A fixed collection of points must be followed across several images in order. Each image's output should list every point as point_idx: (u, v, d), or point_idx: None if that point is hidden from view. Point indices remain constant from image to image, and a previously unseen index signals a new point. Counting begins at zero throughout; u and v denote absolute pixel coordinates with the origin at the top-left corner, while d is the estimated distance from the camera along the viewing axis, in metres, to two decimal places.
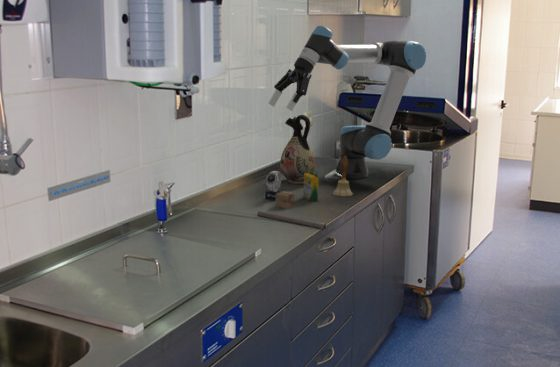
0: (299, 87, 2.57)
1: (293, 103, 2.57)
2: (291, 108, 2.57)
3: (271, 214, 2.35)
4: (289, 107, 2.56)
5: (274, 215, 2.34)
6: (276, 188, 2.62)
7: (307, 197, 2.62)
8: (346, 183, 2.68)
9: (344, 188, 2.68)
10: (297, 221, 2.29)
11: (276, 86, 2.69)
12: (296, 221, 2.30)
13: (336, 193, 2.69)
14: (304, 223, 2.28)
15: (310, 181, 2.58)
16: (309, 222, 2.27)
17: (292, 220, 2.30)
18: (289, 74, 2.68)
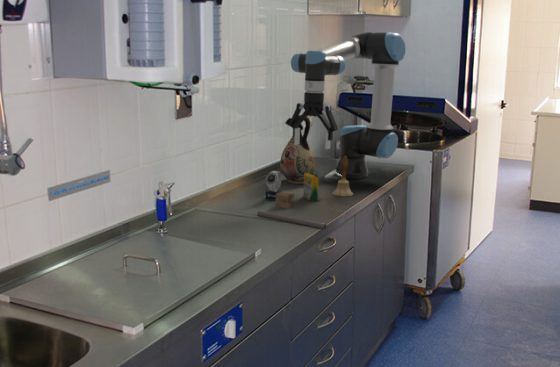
0: (327, 124, 2.51)
1: (329, 141, 2.53)
2: (329, 146, 2.54)
3: (271, 214, 2.35)
4: (327, 147, 2.53)
5: (274, 215, 2.34)
6: (276, 188, 2.62)
7: (307, 197, 2.62)
8: (346, 183, 2.68)
9: (344, 188, 2.68)
10: (297, 221, 2.29)
11: (291, 124, 2.59)
12: (296, 221, 2.30)
13: (336, 193, 2.69)
14: (304, 223, 2.28)
15: (310, 181, 2.58)
16: (309, 222, 2.27)
17: (292, 220, 2.30)
18: (300, 108, 2.56)
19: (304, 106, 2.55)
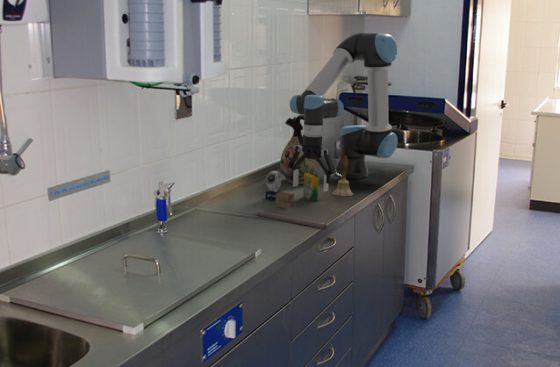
0: (325, 167, 2.55)
1: (327, 184, 2.57)
2: (327, 189, 2.58)
3: (271, 214, 2.35)
4: (326, 190, 2.57)
5: (274, 215, 2.34)
6: (276, 188, 2.62)
7: (307, 197, 2.62)
8: (346, 183, 2.68)
9: (344, 188, 2.68)
10: (297, 221, 2.29)
11: (290, 166, 2.63)
12: (296, 221, 2.30)
13: (336, 193, 2.69)
14: (304, 223, 2.28)
15: (310, 181, 2.58)
16: (309, 222, 2.27)
17: (292, 220, 2.30)
18: (298, 151, 2.60)
19: (303, 149, 2.58)
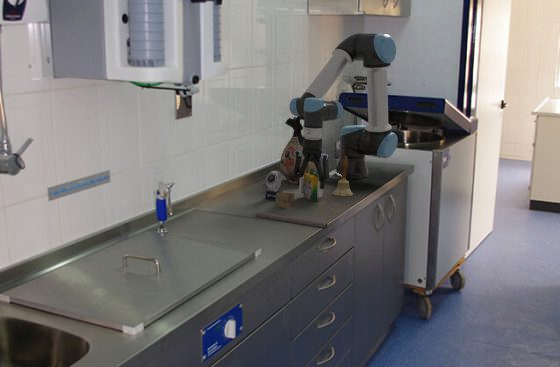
0: (320, 173, 2.57)
1: (321, 189, 2.59)
2: (321, 194, 2.60)
3: (270, 215, 2.35)
4: (320, 195, 2.59)
5: (273, 215, 2.34)
6: (276, 188, 2.62)
7: (307, 197, 2.62)
8: (346, 183, 2.68)
9: (344, 188, 2.68)
10: (297, 220, 2.30)
11: (296, 173, 2.62)
12: (297, 221, 2.30)
13: (336, 193, 2.69)
14: (305, 222, 2.28)
15: (310, 181, 2.58)
16: (310, 221, 2.28)
17: (292, 220, 2.30)
18: (299, 155, 2.61)
19: (303, 152, 2.59)
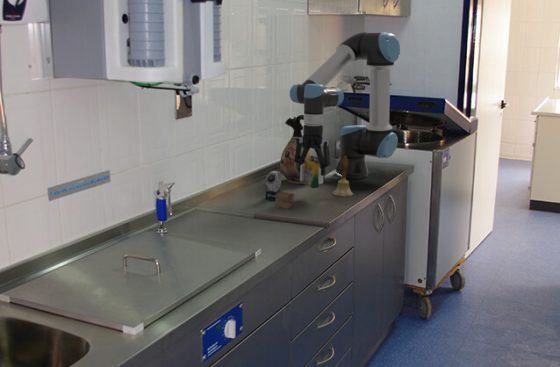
0: (321, 159, 2.56)
1: (321, 176, 2.58)
2: (322, 181, 2.59)
3: (269, 215, 2.34)
4: (321, 182, 2.58)
5: (273, 216, 2.33)
6: (276, 188, 2.62)
7: (308, 184, 2.61)
8: (346, 183, 2.68)
9: (344, 188, 2.68)
10: (298, 220, 2.30)
11: (297, 160, 2.61)
12: (297, 221, 2.30)
13: (336, 193, 2.69)
14: (306, 222, 2.29)
15: (311, 167, 2.57)
16: (311, 221, 2.29)
17: (293, 220, 2.31)
18: (300, 142, 2.59)
19: (303, 139, 2.58)
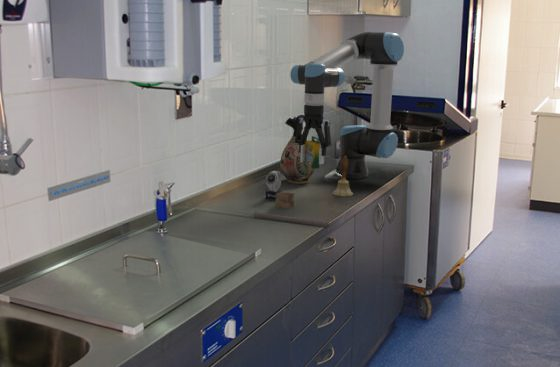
0: (322, 139, 2.54)
1: (322, 156, 2.56)
2: (322, 162, 2.57)
3: (269, 215, 2.34)
4: (321, 162, 2.56)
5: (273, 216, 2.33)
6: (276, 188, 2.62)
7: (308, 164, 2.59)
8: (346, 183, 2.68)
9: (344, 188, 2.68)
10: (298, 220, 2.30)
11: (297, 140, 2.59)
12: (297, 221, 2.30)
13: (336, 193, 2.69)
14: (306, 222, 2.29)
15: (311, 148, 2.55)
16: (311, 221, 2.28)
17: (293, 220, 2.31)
18: (301, 122, 2.58)
19: (304, 119, 2.56)
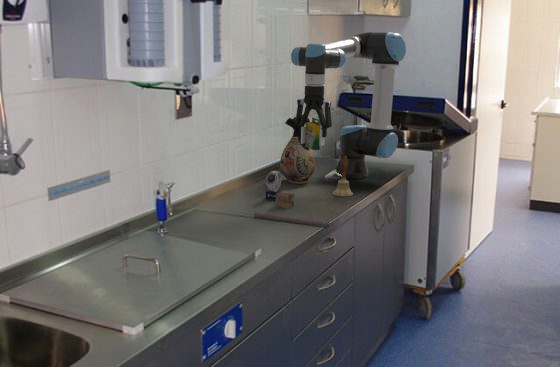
0: (323, 120, 2.52)
1: (323, 138, 2.54)
2: (323, 143, 2.55)
3: (269, 215, 2.34)
4: (322, 144, 2.54)
5: (273, 216, 2.33)
6: (276, 188, 2.62)
7: (309, 146, 2.57)
8: (346, 183, 2.68)
9: (344, 188, 2.68)
10: (298, 220, 2.30)
11: (298, 122, 2.57)
12: (297, 221, 2.30)
13: (336, 193, 2.69)
14: (306, 222, 2.29)
15: (312, 129, 2.53)
16: (311, 221, 2.28)
17: (293, 220, 2.31)
18: (301, 104, 2.56)
19: (304, 100, 2.54)
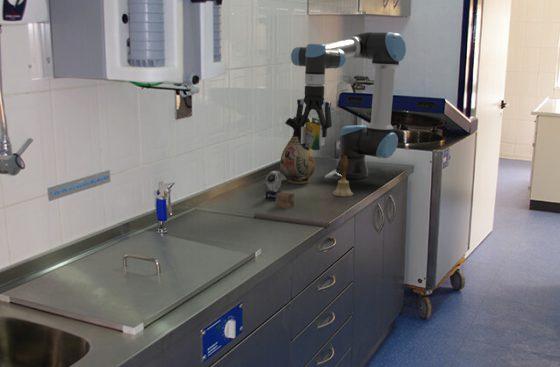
0: (323, 120, 2.52)
1: (323, 138, 2.54)
2: (323, 143, 2.55)
3: (269, 215, 2.34)
4: (322, 144, 2.54)
5: (273, 216, 2.33)
6: (276, 188, 2.62)
7: (309, 146, 2.57)
8: (346, 183, 2.68)
9: (344, 188, 2.68)
10: (298, 220, 2.30)
11: (298, 122, 2.57)
12: (297, 221, 2.30)
13: (336, 193, 2.69)
14: (306, 222, 2.29)
15: (312, 129, 2.53)
16: (311, 221, 2.28)
17: (293, 220, 2.31)
18: (301, 104, 2.56)
19: (304, 100, 2.54)
